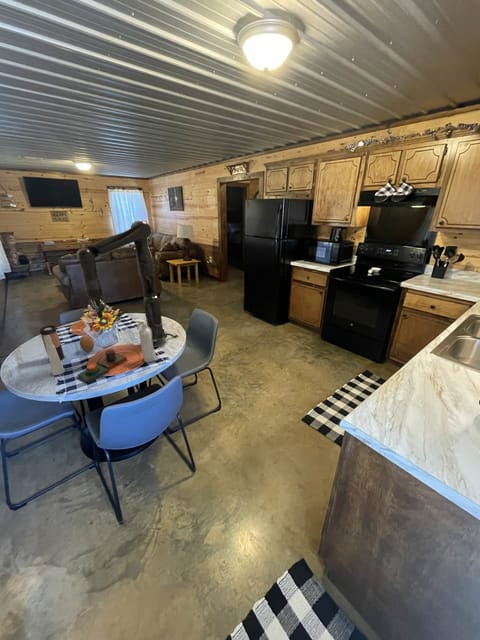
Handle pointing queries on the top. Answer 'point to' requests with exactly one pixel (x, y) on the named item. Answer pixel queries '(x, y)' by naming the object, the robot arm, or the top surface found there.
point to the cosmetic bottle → (53, 357)
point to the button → (91, 367)
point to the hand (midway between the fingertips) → (100, 317)
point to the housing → (92, 373)
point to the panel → (112, 362)
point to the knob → (110, 355)
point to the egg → (86, 343)
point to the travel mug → (54, 337)
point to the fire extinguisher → (146, 341)
